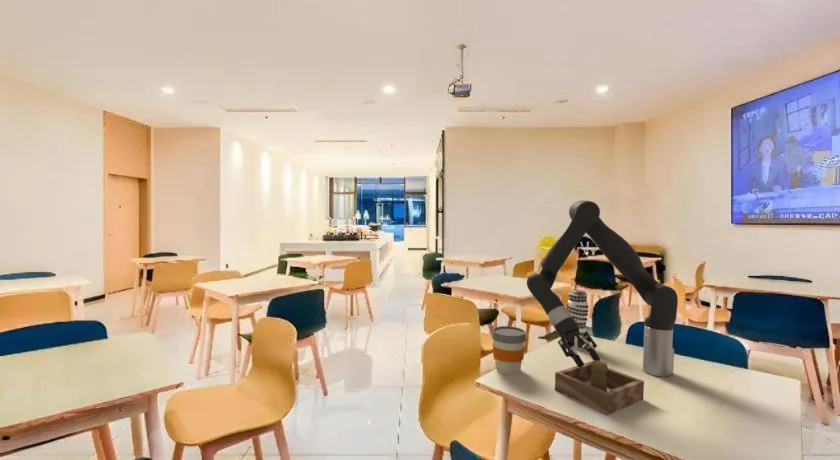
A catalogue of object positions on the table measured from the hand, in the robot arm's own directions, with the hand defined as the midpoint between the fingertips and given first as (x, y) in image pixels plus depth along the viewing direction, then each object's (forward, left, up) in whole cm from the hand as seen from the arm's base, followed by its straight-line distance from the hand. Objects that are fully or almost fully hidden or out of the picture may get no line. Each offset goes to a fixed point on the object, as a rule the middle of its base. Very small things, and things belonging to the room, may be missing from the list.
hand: (590, 363), depth 135 cm
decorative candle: (-23, -40, -9) cm, 47 cm away
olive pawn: (-1, +3, -9) cm, 10 cm away
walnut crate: (-1, +3, -9) cm, 10 cm away
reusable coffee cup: (+19, -22, -9) cm, 30 cm away
